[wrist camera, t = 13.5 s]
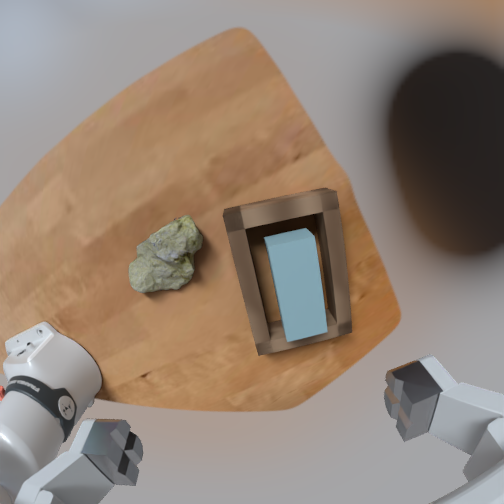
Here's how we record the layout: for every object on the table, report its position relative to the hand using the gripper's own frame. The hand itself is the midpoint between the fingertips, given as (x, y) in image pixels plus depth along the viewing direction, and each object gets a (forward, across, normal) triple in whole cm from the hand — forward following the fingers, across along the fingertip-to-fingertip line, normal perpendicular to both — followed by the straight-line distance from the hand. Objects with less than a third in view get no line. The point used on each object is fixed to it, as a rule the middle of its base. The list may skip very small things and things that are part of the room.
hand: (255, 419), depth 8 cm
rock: (+32, +10, +2) cm, 33 cm away
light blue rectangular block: (+28, -5, +8) cm, 29 cm away
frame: (+31, -5, +8) cm, 32 cm away
